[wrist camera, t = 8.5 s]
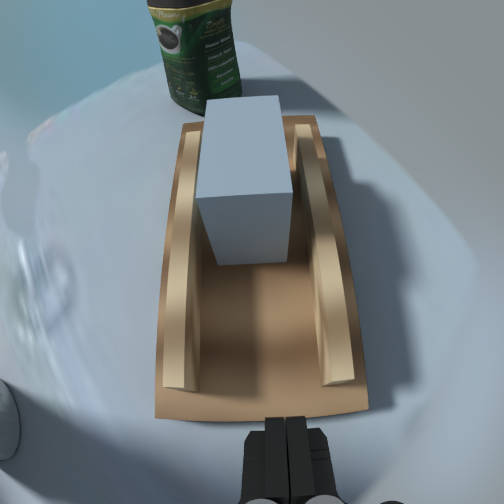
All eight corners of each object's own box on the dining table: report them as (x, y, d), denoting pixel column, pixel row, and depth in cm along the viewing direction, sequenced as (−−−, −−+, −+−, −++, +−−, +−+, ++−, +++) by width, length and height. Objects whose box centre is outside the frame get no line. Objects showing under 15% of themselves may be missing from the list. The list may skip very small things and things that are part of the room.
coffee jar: (253, 96, 38) (243, -35, 21) (206, 124, 35) (178, -20, 19) (206, 76, 41) (188, -36, 25) (163, 100, 39) (131, -18, 22)
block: (286, 262, 23) (292, 192, 16) (218, 265, 23) (195, 198, 16) (277, 170, 27) (278, 95, 20) (221, 173, 27) (207, 100, 20)
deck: (356, 409, 20) (390, 408, 14) (168, 417, 21) (130, 418, 14) (312, 135, 33) (317, 84, 27) (188, 143, 34) (175, 94, 28)
